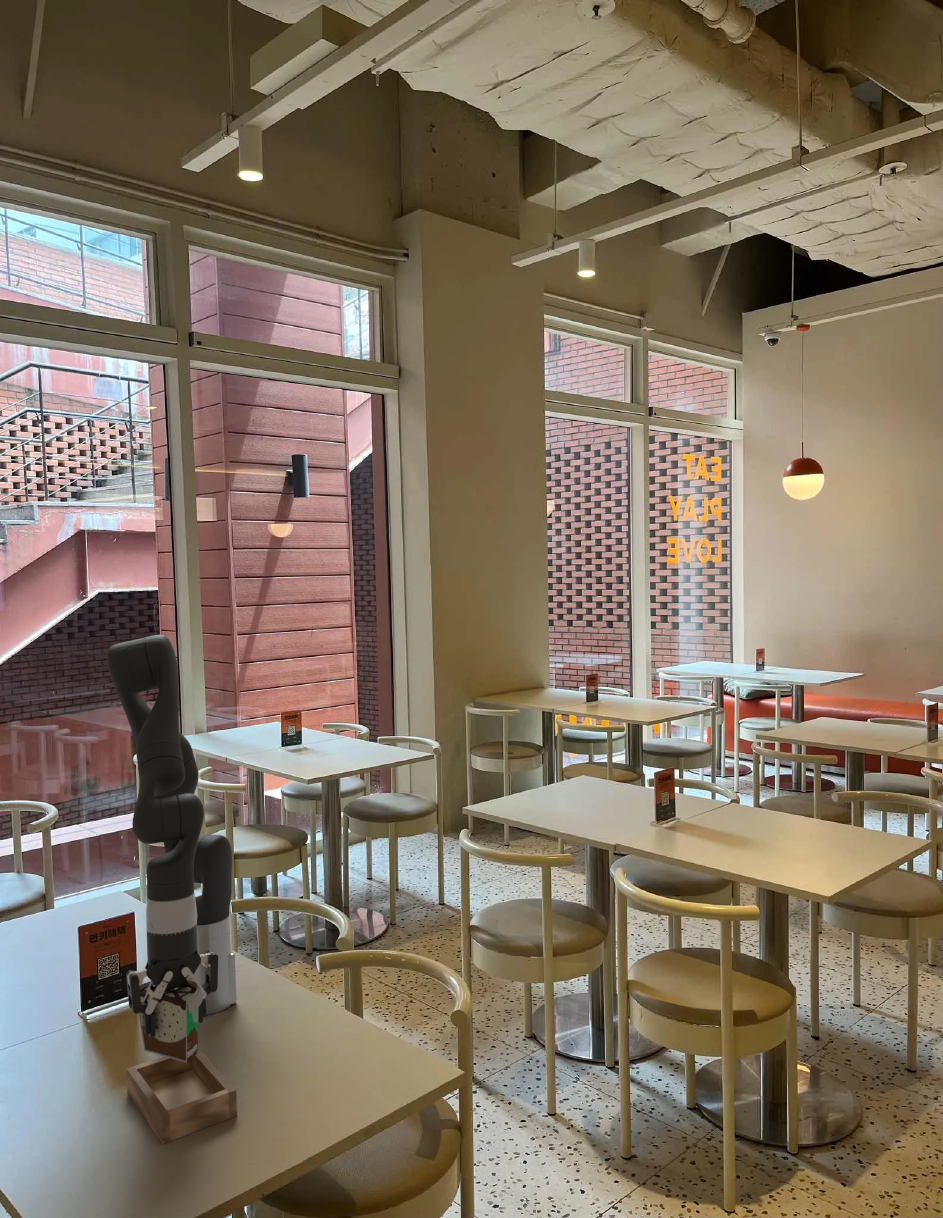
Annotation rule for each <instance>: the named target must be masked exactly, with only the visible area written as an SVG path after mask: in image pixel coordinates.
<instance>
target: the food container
mask: <svg viewBox="0 0 943 1218" xmlns="http://www.w3.org/2000/svg"><path fill="white" fill-rule="evenodd" d="M150 982H151V980H150V981H146V982H143V983H142V985H141V986H139V988H140V999H141V1002H143V1000H144V998H145V996H146V993H147V989H148V986H149V984H150ZM202 1000H203V998H202V994H201V991H200V988H199V986H198V984H197V983H196V988H195V989H193V988H192V987H191V986H190V985H189V984H187V985H186V987H182V988H175V989H173V990H171V991H168V992H165V991H164V993H163V995H162V997H161V999H160V1000H159V1001H158V1002H157V1004H156V1006H155V1008H154V1010H153V1012H154V1013H155V1032H156V1035H155V1036H154V1037H151V1038H150V1037H149V1035H147V1034H146V1033H145V1032H144V1030H143V1018H142V1013H138V1019H139V1024H140V1025H139V1026H140V1031H141V1039H142V1044H143V1045H142V1046H143V1052H147V1053H151V1054H155V1055H156V1056H157V1055H158V1056H161V1057H168V1058H171V1059H175V1060H178V1061H182V1062H186V1063H188V1062H189V1061H190V1060H192V1059H193V1058H194V1056H195V1055H196V1054H197V1051H198V1049H199V1023H198V1007H199V1006H200V1004H201V1003H202Z"/></svg>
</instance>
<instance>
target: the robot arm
mask: <svg viewBox="0 0 943 1218" xmlns="http://www.w3.org/2000/svg"><path fill="white" fill-rule="evenodd" d="M106 662H107V667H108V671H109V674H110V677H111V680H112V683H113V685H114V689H115V691H116V693H117V695H118V698H119V701H120V703H121V706H122V708H123V711H124V713H125V716H126V719H127V722H128V724H129V727H130V729H131V732H132V736H133V739H134V743H135V746H136V747H135V754H136V761H137V769H138V781H139V782H138V784H139V785H138V786H139V787H138V793H137V800H136V804H135V808H134V811H133V818H132V821H131V822H132V831H133V835H134V836H135V837H136V840H138V841H139V842H140V843H142V844H145V845H153V844H161V843H163V847H164V853H163V854H160V855H158V856H156V857H154V858H151V859H150V860H149V861H148V862H147V864H146V890H147V891H146V894H147V896H146V897H147V898H146V908H145V919H146V922H145V923H146V928H145V929H146V952H147V953H146V957H147V961H146V964H145V966H144V968H142V969H139V970H131V969H130V970H128V971H126V973H125V976H126V988H127V998H128V1007H129V1009H130V1010H131V1011H132V1013H134V1014H135V1015H137V1014H138V1015H139V1013H142V1018H143V1030H144V1032H145V1033H146V1034H147V1035H149V1037H150V1038H151V1037H154V1036H155V1035H156V1032H155V1013H154V1012H153V1010H154V1008H155V1006H156V1004H157V1002H158V1001H159V1000H160V999H161V997H162V995H163V993H164V991H165V992H168V991H171V990H173V989H175V988H182V987H186V985H187V984H189V985H190V986H191V987H192V988H193V989H195V988H196V983H197V984H198V986H199V988H200V991H201V994H202V998H203V1000H202V1003H201V1004H200V1006H199V1007H198V1024H201V1023H203V1022H204V1019H205V1018H206V1016H207V1015H212V1014H216V1013H219V1012H222V1011H224V1010H226V1009H227V1008H229V1007H230V1006H231V1004H232V1005H234V1004H237V1002H238V1001H237V1000H238V998H237V997H238V996H237V977H236V976H237V974H236V971H237V970H236V955H235V953H233V952H232V947H231V946H232V945H231V944H232V943H231V941H232V940H231V919H230V917H231V916H230V914H231V913H230V906H231V901H232V893H233V889H232V887H233V885H232V884H233V882H232V880H233V879H232V878H233V874H232V873H233V852H232V846H231V843H230V841H229V839H228V837H227V836H225V835H221V834H208V833H201V832H202V828H203V824H204V819H205V810H204V805H203V803H202V802H203V801H201V799H200V798H199V797H198V796H197V795H196V794H195V792H196V789H197V787H198V784H199V774H200V773H199V769H198V764H197V761H196V759H195V758H196V757H195V755H194V750H193V748H192V745H191V743H190V742H189V740H188V739H187V738H186V737H185V736H184V735H183V734H182V733H181V732H180V726H179V725H180V721H179V720H180V719H179V718H180V696H179V695H180V694H179V685H180V683H179V667H178V662H177V657H176V653H175V649H174V647H173V645H172V642H171V641H170V639H169V638H168V636H166V635H165V634H156V635H150V636H149V635H148V636H146V637H142V638H137V639H133V640H128V641H123V642H119V643H116V644H113V645H111V646H109V648H108V650H107V653H106ZM154 689H158V692H157V697H156V699H155V702H154V704H153V706H152V708H150V707H149V705H148V704H147V703H146V701H145V700H144V699H143V696H142V694H141V693H142V692H147V691H150V690H154ZM195 884H202V894H201V895H197V896H195ZM146 977H148V979H149V980H150V981H151V982H150V984H149V986H148V989H147V993H146V996H145V998H144V1000H143V1002H141V999H140V988H139V986H141V985H142V984H143V983H144V979H145V978H146Z"/></svg>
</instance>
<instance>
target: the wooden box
mask: <svg viewBox="0 0 943 1218" xmlns="http://www.w3.org/2000/svg"><path fill="white" fill-rule="evenodd" d="M126 1085H127V1086H126V1087H127V1091H126V1092H127V1095H128V1096H129V1097H130V1099H131V1100H132V1102H133V1103H134V1105H135V1106H136V1107H137V1109H138V1111H139V1112H140V1114H141V1115H142V1116H143V1117H144V1119H145V1121H146V1122H147V1124H148V1125H149V1126H150V1128H151V1130H152V1131H153V1132H154V1134H155V1135H156V1137H157V1138H158V1140H159V1141H160V1142H161V1144H162V1145H165V1144H167V1143H169V1142H172V1141H174V1140H176V1139H177V1140H178V1139H179V1138H183V1137H185V1136H187V1135H190V1134H192V1133H196V1132H198V1131H201V1130H203V1129H206V1128H208V1127H211V1126H213V1125H214V1126H215V1125H217V1124H219V1123H221V1122H225V1121H227V1120H230V1119H232V1118H235V1117H238V1105H237V1103H238V1101H237V1089H236V1088H235V1087H234V1086H233V1084H231V1082H230V1081H228V1079H227V1078H226V1077H225V1076H224V1075H223V1074H222V1073H221V1072H220V1070H219V1069H218V1068H217V1067H216V1066H215V1065H214V1064H213V1063H212V1062H211V1060H209V1058H208V1057H207V1056H206V1055H205V1054H204V1053H203V1052H202V1051H201V1049H200V1048H198V1051H197V1054H196V1055H195V1056H194V1058H193V1059H192V1060H190V1061H189V1062H188V1063H186V1062H182V1061H178V1060H175V1059H171V1058H168V1057H164V1056H161V1057H158V1058H155V1059H152V1060H149V1061H146V1062H143V1063H139V1064H136V1065H134V1066H131V1067H128V1068H126Z"/></svg>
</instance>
